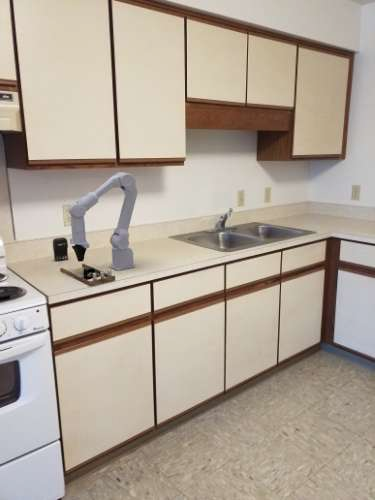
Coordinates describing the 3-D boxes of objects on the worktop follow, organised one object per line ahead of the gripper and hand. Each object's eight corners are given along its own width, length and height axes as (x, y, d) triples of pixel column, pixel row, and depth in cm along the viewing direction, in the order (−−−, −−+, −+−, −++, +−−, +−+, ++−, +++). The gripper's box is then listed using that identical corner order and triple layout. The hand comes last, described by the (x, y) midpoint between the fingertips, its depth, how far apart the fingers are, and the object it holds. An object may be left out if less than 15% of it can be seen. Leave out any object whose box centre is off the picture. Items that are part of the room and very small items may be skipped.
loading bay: (83, 266, 187) (83, 256, 186) (115, 280, 167) (115, 269, 165) (60, 271, 180) (59, 260, 179) (90, 286, 159) (90, 274, 158)
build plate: (81, 283, 165) (80, 273, 164) (72, 279, 170) (71, 269, 169) (106, 276, 174) (105, 266, 173) (96, 273, 179) (96, 263, 177)
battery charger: (55, 262, 195) (53, 239, 192) (53, 260, 198) (51, 238, 196) (69, 260, 199) (68, 237, 196) (67, 258, 202) (65, 236, 199)
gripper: (62, 230, 175) (65, 259, 178) (77, 234, 165) (80, 266, 168) (77, 228, 180) (79, 256, 183) (92, 232, 169) (95, 262, 172)
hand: (80, 261), depth 176 cm, fingers closed
